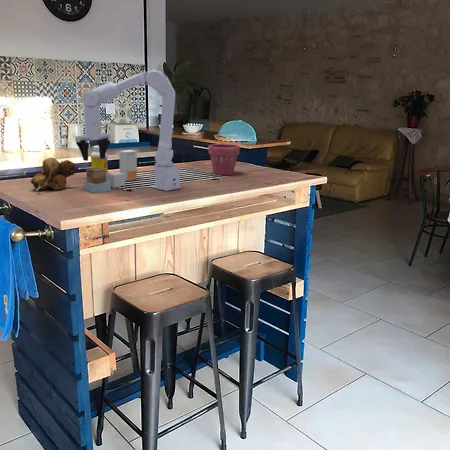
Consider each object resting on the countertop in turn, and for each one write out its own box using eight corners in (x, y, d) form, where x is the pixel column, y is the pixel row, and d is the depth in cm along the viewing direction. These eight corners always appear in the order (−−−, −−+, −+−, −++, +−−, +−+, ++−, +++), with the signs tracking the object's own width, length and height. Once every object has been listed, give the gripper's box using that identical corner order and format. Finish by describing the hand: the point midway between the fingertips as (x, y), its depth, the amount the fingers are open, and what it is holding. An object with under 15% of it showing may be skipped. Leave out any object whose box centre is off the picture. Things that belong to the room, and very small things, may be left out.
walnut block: (106, 182, 187) (105, 168, 186) (95, 184, 183) (95, 170, 182) (97, 180, 190) (97, 167, 189) (86, 182, 186) (86, 168, 185)
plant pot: (203, 171, 232) (203, 143, 229) (230, 170, 238) (231, 143, 235) (215, 177, 220) (216, 148, 216) (244, 175, 226) (245, 147, 222)
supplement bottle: (105, 178, 211) (104, 147, 207) (90, 177, 211) (88, 147, 207) (109, 175, 217) (108, 145, 213) (94, 174, 217) (93, 145, 214)
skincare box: (126, 181, 206) (125, 152, 203) (119, 179, 208) (118, 150, 205) (137, 179, 211) (137, 150, 207) (130, 177, 213) (129, 149, 210)
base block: (110, 191, 188) (110, 182, 187) (93, 194, 183) (93, 184, 182) (101, 188, 193) (101, 179, 192) (84, 190, 188) (84, 181, 187)
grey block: (124, 186, 197) (124, 173, 195) (114, 188, 193) (114, 175, 192) (116, 184, 200) (116, 171, 198) (106, 186, 196) (106, 173, 195)
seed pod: (85, 172, 186) (68, 155, 195) (43, 167, 174) (28, 149, 183) (74, 203, 190) (59, 184, 199) (33, 200, 179) (19, 180, 188)
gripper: (102, 121, 196) (103, 156, 200) (69, 123, 185) (71, 159, 189) (113, 123, 192) (114, 158, 196) (80, 125, 181) (82, 162, 185)
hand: (94, 159), depth 192 cm, fingers open, 7 cm apart
